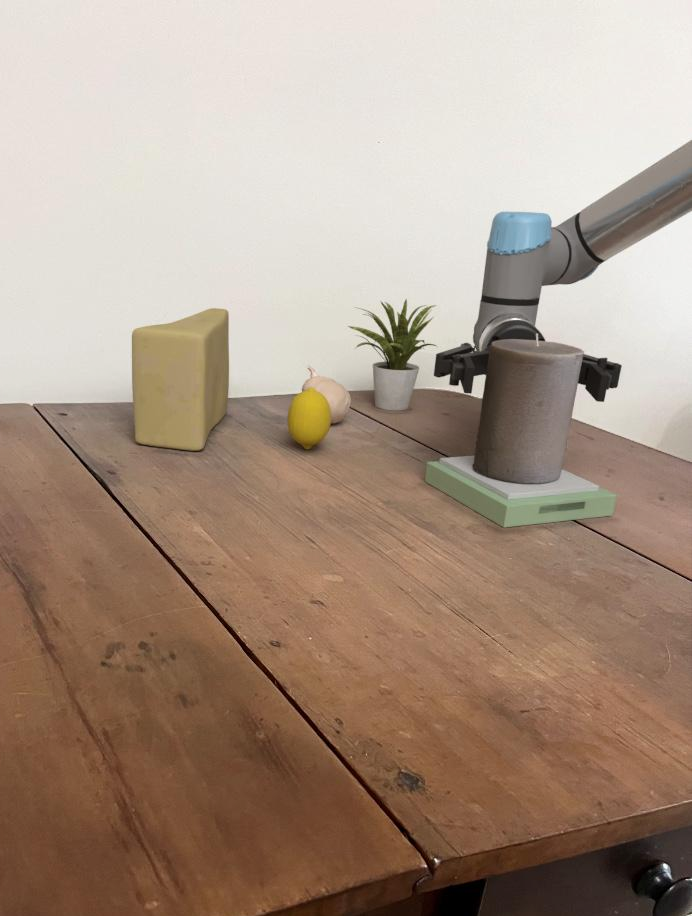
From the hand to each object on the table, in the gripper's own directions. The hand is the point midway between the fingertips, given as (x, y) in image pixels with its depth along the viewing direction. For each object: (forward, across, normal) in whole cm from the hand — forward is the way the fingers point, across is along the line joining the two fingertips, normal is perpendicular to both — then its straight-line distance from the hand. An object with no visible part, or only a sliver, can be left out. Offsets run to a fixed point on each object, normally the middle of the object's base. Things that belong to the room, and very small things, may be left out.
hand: (535, 384), depth 96 cm
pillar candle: (-3, 0, -10) cm, 11 cm away
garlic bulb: (-30, +23, -13) cm, 41 cm away
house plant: (-45, +14, -13) cm, 49 cm away
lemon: (-16, +25, -13) cm, 32 cm away
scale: (-2, 0, -13) cm, 13 cm away
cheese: (-22, +40, -13) cm, 48 cm away
